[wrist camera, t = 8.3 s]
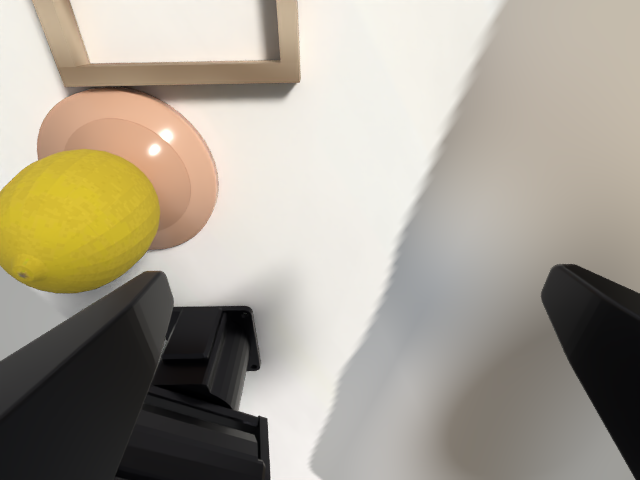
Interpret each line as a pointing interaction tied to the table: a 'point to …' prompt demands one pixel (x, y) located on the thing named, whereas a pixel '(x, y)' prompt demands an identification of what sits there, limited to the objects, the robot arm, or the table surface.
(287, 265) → the table surface
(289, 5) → the wooden picture frame
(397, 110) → the table surface
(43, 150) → the saucer
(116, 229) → the lemon
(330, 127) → the table surface
